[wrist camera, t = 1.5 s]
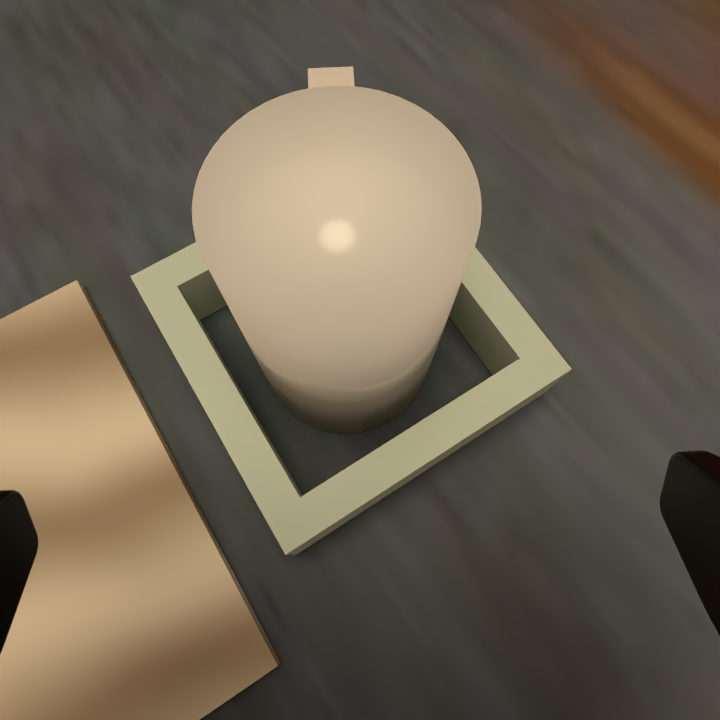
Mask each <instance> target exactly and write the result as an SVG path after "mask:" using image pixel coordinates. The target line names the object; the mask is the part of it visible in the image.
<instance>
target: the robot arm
mask: <svg viewBox="0 0 720 720" xmlns="http://www.w3.org/2000/svg"><path fill="white" fill-rule="evenodd" d="M660 509H661V513H662V516H663V519H664V521H665V523H666V525H667V527H668V529H669V532H670V534H671V536H672V538H673V540H674V543H675V545H676V547H677V549H678V551H679V553H680V556H681V558H682V560H683V562H684V564H685V566H686V569H687V571H688V573H689V575H690V577H691V579H692V582H693V584H694V586H695V588H696V590H697V593H698V595H699V597H700V599H701V601H702V603H703V605H704V607H705V609H706V611H707V613H708V615H709V617H710V619H711V621H712V622H713V624H714V626H715V628H716V630H717V631H718V633H719V635H720V457H719V456H717V455H714V454H712V453H710V452H707V451H685V452H677V453H675V454H674V455H672V457H671V458H670V461H669V464H668V468H667V472H666V476H665V480H664V484H663V488H662V492H661V496H660ZM37 550H38V535H37V532H36V529H35V527H34V524H33V521H32V519H31V516H30V514H29V511H28V508H27V506H26V503H25V500H24V498H23V496H22V495H21V494H20V493H19V492H18V491H15V490H0V654H1V652H2V649H3V647H4V644H5V641H6V639H7V636H8V633H9V630H10V627H11V625H12V622H13V619H14V616H15V613H16V611H17V608H18V605H19V602H20V599H21V597H22V594H23V591H24V588H25V585H26V583H27V580H28V577H29V574H30V571H31V569H32V566H33V563H34V560H35V557H36V554H37Z"/></svg>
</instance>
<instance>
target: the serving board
mask: <svg viewBox="0 0 720 720" xmlns="http://www.w3.org/2000/svg"><path fill="white" fill-rule="evenodd" d="M0 490H15V491H18V492H19V493H20V494H21V495H22V496H23V498H24V500H25V503H26V506H27V508H28V511H29V514H30V516H31V519H32V521H33V524H34V527H35V529H36V532H37V535H38V550H37V554H36V557H35V560H34V563H33V566H32V569H31V571H30V574H29V577H28V580H27V583H26V585H25V588H24V591H23V594H22V597H21V599H20V602H19V605H18V608H17V611H16V613H15V616H14V619H13V622H12V625H11V627H10V630H9V633H8V636H7V639H6V641H5V644H4V647H3V649H2V652H1V654H0V720H200V719H201V718H203V717H204V716H206V715H207V714H209V713H210V712H212V711H213V710H215V709H216V708H217V707H219V706H220V705H222V704H223V703H225V702H226V701H228V700H229V699H231V698H232V697H233V696H235V695H236V694H238V693H239V692H241V691H242V690H244V689H245V688H247V687H248V686H249V685H251V684H252V683H254V682H255V681H257V680H258V679H260V678H261V677H263V676H264V675H266V674H267V673H268V672H270V671H271V670H273V669H274V668H276V667H277V666H278V665H279V664H280V661H279V659H278V657H277V655H276V653H275V651H274V649H273V647H272V645H271V644H270V642H269V640H268V638H267V636H266V634H265V632H264V630H263V628H262V626H261V624H260V623H259V621H258V619H257V617H256V615H255V613H254V611H253V609H252V607H251V605H250V603H249V602H248V600H247V598H246V596H245V594H244V592H243V590H242V588H241V586H240V584H239V582H238V581H237V579H236V577H235V575H234V573H233V571H232V569H231V567H230V565H229V563H228V561H227V560H226V558H225V556H224V554H223V552H222V550H221V548H220V546H219V544H218V542H217V540H216V539H215V537H214V535H213V533H212V531H211V529H210V527H209V525H208V523H207V521H206V519H205V517H204V516H203V514H202V512H201V510H200V508H199V506H198V504H197V502H196V500H195V498H194V496H193V495H192V493H191V491H190V489H189V487H188V485H187V483H186V481H185V479H184V477H183V475H182V474H181V472H180V470H179V468H178V466H177V464H176V462H175V460H174V458H173V456H172V454H171V453H170V451H169V449H168V447H167V445H166V443H165V441H164V439H163V437H162V435H161V433H160V432H159V430H158V428H157V426H156V424H155V422H154V420H153V418H152V416H151V414H150V412H149V411H148V409H147V407H146V405H145V403H144V401H143V399H142V397H141V395H140V393H139V391H138V390H137V388H136V386H135V384H134V382H133V380H132V378H131V376H130V374H129V372H128V370H127V369H126V367H125V365H124V363H123V361H122V359H121V357H120V355H119V353H118V351H117V349H116V348H115V346H114V344H113V342H112V340H111V338H110V336H109V334H108V332H107V330H106V328H105V327H104V325H103V323H102V321H101V319H100V317H99V315H98V313H97V311H96V309H95V307H94V305H93V304H92V302H91V300H90V298H89V296H88V294H87V292H86V290H85V288H84V287H83V286H82V285H81V284H80V283H79V282H78V281H77V280H76V281H74V282H72V283H70V284H68V285H66V286H64V287H62V288H60V289H58V290H56V291H55V292H53V293H51V294H49V295H47V296H45V297H43V298H41V299H39V300H37V301H35V302H33V303H31V304H29V305H27V306H25V307H23V308H22V309H20V310H18V311H16V312H14V313H12V314H10V315H8V316H6V317H4V318H2V319H0Z"/></svg>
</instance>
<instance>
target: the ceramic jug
mask: <svg viewBox="0 0 720 720" xmlns="http://www.w3.org/2000/svg"><path fill="white" fill-rule="evenodd" d="M308 86H309V89H304V90H299V91H295V92H292V93H288V94H285V95H282V96H279V97H277V98H275V99H272V100H270V101H268V102H266V103H264V104H262V105H260V106H258V107H257V108H255V109H253V110H251V111H250V112H248V113H247V114H246V115H244V116H243V117H242V118H240V119H239V120H238V121H236V122H235V123H234V124H233V125H232V126H231V127H230V128H229V129H228V130H227V131H226V132H225V133H224V134H223V135H222V136H221V137H220V139H219V140H218V141H217V142H216V143H215V145H214V146H213V147H212V149H211V151H210V152H209V154H208V156H207V157H206V159H205V161H204V163H203V165H202V167H201V170H200V172H199V174H198V178H197V181H196V185H195V188H194V194H193V202H192V223H193V229H194V234H195V239H196V242H197V245H198V248H199V251H200V253H201V256H202V258H203V260H204V262H205V263H206V265H207V267H208V269H209V271H210V273H211V275H212V277H213V279H214V280H215V282H216V284H217V286H218V288H219V290H220V292H221V294H222V296H223V297H224V299H225V301H226V303H227V305H228V307H229V309H230V311H231V313H232V314H233V316H234V318H235V320H236V322H237V324H238V326H239V328H240V330H241V331H242V333H243V335H244V337H245V339H246V341H247V343H248V345H249V347H250V348H251V350H252V352H253V354H254V356H255V358H256V360H257V362H258V364H259V365H260V367H261V369H262V371H263V373H264V375H265V377H266V379H267V381H268V382H269V384H270V386H271V388H272V390H273V392H274V394H275V396H276V397H277V398H278V400H279V401H280V402H281V404H282V405H283V406H284V407H285V408H286V409H287V410H288V411H289V412H290V413H291V414H293V415H294V416H295V417H296V418H298V419H299V420H301V421H303V422H304V423H306V424H308V425H310V426H313V427H315V428H317V429H321V430H324V431H328V432H335V433H357V432H364V431H368V430H372V429H375V428H377V427H380V426H382V425H384V424H386V423H388V422H390V421H392V420H393V419H395V418H396V417H397V416H399V415H400V414H401V413H402V412H404V411H405V410H406V409H407V408H408V407H409V406H410V404H411V403H412V402H413V401H414V399H415V398H416V397H417V395H418V393H419V391H420V390H421V388H422V386H423V383H424V381H425V378H426V376H427V373H428V370H429V367H430V365H431V362H432V359H433V357H434V354H435V351H436V349H437V346H438V343H439V341H440V338H441V335H442V333H443V330H444V327H445V325H446V322H447V319H448V316H449V314H450V311H451V308H452V306H453V303H454V300H455V298H456V295H457V292H458V290H459V287H460V284H461V282H462V279H463V276H464V273H465V271H466V268H467V265H468V263H469V260H470V257H471V255H472V252H473V249H474V247H475V244H476V241H477V237H478V233H479V229H480V223H481V211H482V207H481V193H480V188H479V184H478V179H477V176H476V173H475V171H474V168H473V165H472V163H471V161H470V159H469V157H468V155H467V154H466V152H465V150H464V148H463V147H462V146H461V144H460V143H459V142H458V140H457V139H456V138H455V136H454V135H453V134H452V133H451V132H450V131H449V130H448V129H447V128H446V127H445V126H444V125H443V124H442V123H441V122H440V121H438V120H437V119H436V118H435V117H433V116H432V115H431V114H430V113H428V112H427V111H425V110H423V109H422V108H420V107H418V106H417V105H415V104H413V103H411V102H409V101H407V100H404V99H402V98H400V97H398V96H395V95H392V94H389V93H386V92H383V91H378V90H374V89H369V88H363V87H354V73H353V67H333V68H310V69H308Z"/></svg>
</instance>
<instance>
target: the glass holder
mask: <svg viewBox="0 0 720 720" xmlns="http://www.w3.org/2000/svg"><path fill="white" fill-rule="evenodd" d="M130 277H131V278H132V280H133V282H134V284H135V286H136V287H137V289H138V291H139V293H140V295H141V296H142V298H143V300H144V302H145V304H146V305H147V307H148V309H149V311H150V313H151V314H152V316H153V318H154V320H155V322H156V323H157V325H158V327H159V329H160V331H161V332H162V334H163V336H164V338H165V339H166V341H167V343H168V345H169V347H170V348H171V350H172V352H173V354H174V356H175V357H176V359H177V361H178V363H179V365H180V366H181V368H182V370H183V372H184V374H185V375H186V377H187V379H188V381H189V383H190V384H191V386H192V388H193V390H194V392H195V393H196V395H197V397H198V399H199V401H200V402H201V404H202V406H203V408H204V410H205V411H206V413H207V415H208V417H209V419H210V420H211V422H212V424H213V426H214V428H215V429H216V431H217V433H218V435H219V437H220V438H221V440H222V442H223V444H224V446H225V447H226V449H227V451H228V453H229V454H230V456H231V458H232V460H233V462H234V463H235V465H236V467H237V469H238V471H239V472H240V474H241V476H242V478H243V480H244V481H245V483H246V485H247V487H248V489H249V490H250V492H251V494H252V496H253V498H254V499H255V501H256V503H257V505H258V507H259V508H260V510H261V512H262V514H263V516H264V517H265V519H266V521H267V523H268V525H269V526H270V528H271V530H272V532H273V534H274V535H275V537H276V539H277V541H278V543H279V544H280V546H281V548H282V550H283V552H284V553H285V555H297V554H298V553H300V552H301V551H303V550H304V549H306V548H307V547H309V546H311V545H312V544H314V543H315V542H317V541H318V540H320V539H321V538H323V537H324V536H326V535H327V534H329V533H330V532H332V531H334V530H335V529H337V528H338V527H340V526H341V525H343V524H344V523H346V522H347V521H349V520H350V519H352V518H354V517H355V516H357V515H358V514H360V513H361V512H363V511H364V510H366V509H367V508H369V507H370V506H372V505H373V504H375V503H377V502H378V501H380V500H381V499H383V498H384V497H386V496H387V495H389V494H390V493H392V492H393V491H395V490H396V489H398V488H400V487H401V486H403V485H404V484H406V483H407V482H409V481H410V480H412V479H413V478H415V477H416V476H418V475H420V474H421V473H423V472H424V471H426V470H427V469H429V468H430V467H432V466H433V465H435V464H436V463H438V462H439V461H441V460H443V459H444V458H446V457H447V456H449V455H450V454H452V453H453V452H455V451H456V450H458V449H459V448H461V447H462V446H464V445H466V444H467V443H469V442H470V441H472V440H473V439H475V438H476V437H478V436H479V435H481V434H482V433H484V432H486V431H487V430H489V429H490V428H492V427H493V426H495V425H496V424H498V423H499V422H501V421H502V420H504V419H505V418H507V417H509V416H510V415H512V414H513V413H515V412H516V411H518V410H519V409H521V408H522V407H524V406H525V405H527V404H528V403H530V402H532V401H533V400H535V399H536V398H538V397H539V396H541V395H542V394H544V393H545V392H546V391H547V390H548V389H549V388H551V387H552V386H553V385H554V384H555V383H556V382H557V381H559V380H560V379H561V378H562V377H563V376H564V375H565V374H567V373H568V372H569V371H570V370H571V368H570V367H569V365H568V364H567V363H566V361H565V360H564V359H563V358H562V356H561V355H560V354H559V353H558V351H557V350H556V349H555V348H554V346H553V345H552V344H551V342H550V341H549V340H548V339H547V337H546V336H545V335H544V334H543V332H542V331H541V330H540V329H539V327H538V326H537V325H536V323H535V322H534V321H533V320H532V318H531V317H530V316H529V315H528V313H527V312H526V311H525V310H524V308H523V307H522V306H521V304H520V303H519V302H518V301H517V299H516V298H515V297H514V296H513V294H512V293H511V292H510V291H509V289H508V288H507V287H506V285H505V284H504V283H503V282H502V280H501V279H500V278H499V277H498V275H497V274H496V273H495V272H494V270H493V269H492V268H491V266H490V265H489V264H488V263H487V261H486V260H485V259H484V258H483V256H482V255H481V254H480V253H479V251H478V250H477V249H476V247H474V249H473V252H472V255H471V257H470V260H469V263H468V265H467V268H466V271H465V273H464V276H463V279H462V282H461V284H460V287H459V290H458V292H457V295H456V298H455V300H454V303H453V306H452V308H451V311H450V314H449V317H450V319H451V320H452V321H453V323H454V324H455V325H456V327H457V328H458V329H459V331H460V332H461V333H462V335H463V336H464V338H465V339H466V340H467V342H468V343H469V344H470V346H471V347H472V348H473V350H474V351H475V352H476V354H477V355H478V356H479V358H480V359H481V361H482V362H483V363H484V365H485V366H486V367H487V369H488V370H489V371H490V373H491V374H492V375H493V376H491V377H490V378H488V379H487V380H485V381H483V382H482V383H480V384H479V385H477V386H475V387H474V388H472V389H471V390H469V391H468V392H466V393H464V394H463V395H461V396H460V397H458V398H456V399H455V400H453V401H452V402H450V403H449V404H447V405H445V406H444V407H442V408H441V409H439V410H438V411H436V412H434V413H433V414H431V415H430V416H428V417H426V418H425V419H423V420H422V421H420V422H419V423H417V424H415V425H414V426H412V427H411V428H409V429H407V430H406V431H404V432H403V433H401V434H400V435H398V436H396V437H395V438H393V439H392V440H390V441H388V442H387V443H385V444H384V445H382V446H381V447H379V448H377V449H376V450H374V451H373V452H371V453H369V454H368V455H366V456H365V457H363V458H362V459H360V460H358V461H357V462H355V463H354V464H352V465H351V466H349V467H347V468H346V469H344V470H343V471H341V472H339V473H338V474H336V475H335V476H333V477H332V478H330V479H328V480H327V481H325V482H324V483H322V484H320V485H319V486H317V487H316V488H314V489H313V490H311V491H309V492H308V493H306V494H305V495H302V494H301V492H300V490H299V489H298V487H297V485H296V483H295V482H294V480H293V478H292V477H291V475H290V473H289V471H288V470H287V468H286V466H285V465H284V463H283V461H282V459H281V458H280V456H279V454H278V453H277V451H276V449H275V448H274V446H273V444H272V442H271V441H270V439H269V437H268V436H267V434H266V432H265V430H264V429H263V427H262V425H261V424H260V422H259V420H258V418H257V417H256V415H255V413H254V412H253V410H252V408H251V406H250V405H249V403H248V401H247V400H246V398H245V396H244V394H243V393H242V391H241V389H240V388H239V386H238V384H237V382H236V381H235V379H234V377H233V376H232V374H231V372H230V371H229V369H228V367H227V365H226V364H225V362H224V360H223V359H222V357H221V355H220V353H219V352H218V350H217V348H216V347H215V345H214V343H213V341H212V340H211V338H210V336H209V335H208V333H207V331H206V329H205V328H204V326H203V324H202V323H201V321H200V320H201V319H203V318H205V317H207V316H209V315H211V314H212V313H214V312H216V311H218V310H220V309H221V308H223V307H225V306H227V303H226V301H225V299H224V297H223V296H222V294H221V292H220V290H219V288H218V286H217V284H216V282H215V280H214V279H213V277H212V275H211V273H210V271H209V269H208V267H207V265H206V263H205V262H204V260H203V258H202V256H201V253H200V251H199V248H198V245H197V242H195V243H194V244H192V245H190V246H188V247H186V248H184V249H182V250H180V251H178V252H176V253H174V254H173V255H171V256H169V257H167V258H165V259H163V260H161V261H159V262H157V263H155V264H153V265H151V266H150V267H148V268H146V269H144V270H142V271H140V272H138V273H136V274H134V275H132V276H130Z"/></svg>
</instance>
